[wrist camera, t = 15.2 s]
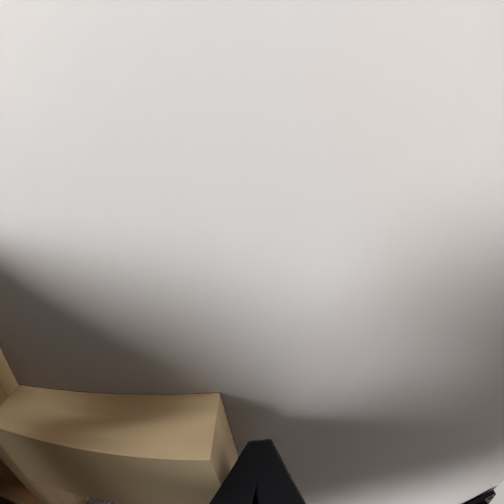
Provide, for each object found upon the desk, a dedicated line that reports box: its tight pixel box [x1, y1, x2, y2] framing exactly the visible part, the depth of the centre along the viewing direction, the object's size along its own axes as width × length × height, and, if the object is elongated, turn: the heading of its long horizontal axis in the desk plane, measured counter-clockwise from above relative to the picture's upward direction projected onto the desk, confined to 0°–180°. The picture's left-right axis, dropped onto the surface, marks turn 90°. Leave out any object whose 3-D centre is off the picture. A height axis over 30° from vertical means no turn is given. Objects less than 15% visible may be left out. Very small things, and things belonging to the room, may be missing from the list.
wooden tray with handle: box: [0, 347, 238, 504], centre depth 8 cm, size 18×11×3 cm, turn 98°
